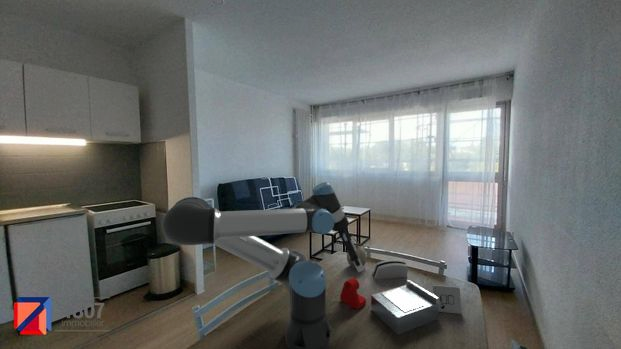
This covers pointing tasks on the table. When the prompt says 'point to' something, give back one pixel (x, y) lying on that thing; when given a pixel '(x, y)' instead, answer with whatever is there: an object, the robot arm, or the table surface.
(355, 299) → the bracket
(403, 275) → the grey curved slab
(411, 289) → the grey ridged box
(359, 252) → the fruit
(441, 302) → the electrical switch
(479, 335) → the table surface
